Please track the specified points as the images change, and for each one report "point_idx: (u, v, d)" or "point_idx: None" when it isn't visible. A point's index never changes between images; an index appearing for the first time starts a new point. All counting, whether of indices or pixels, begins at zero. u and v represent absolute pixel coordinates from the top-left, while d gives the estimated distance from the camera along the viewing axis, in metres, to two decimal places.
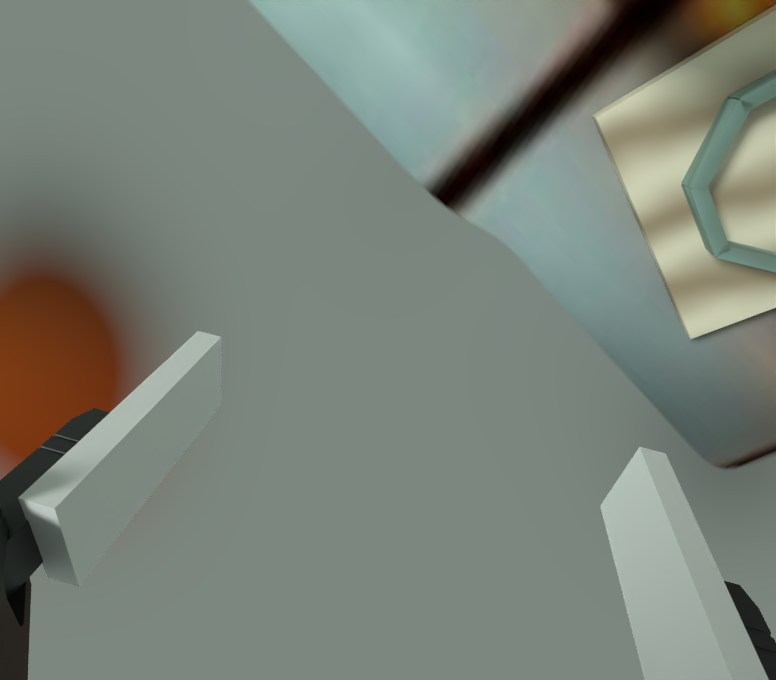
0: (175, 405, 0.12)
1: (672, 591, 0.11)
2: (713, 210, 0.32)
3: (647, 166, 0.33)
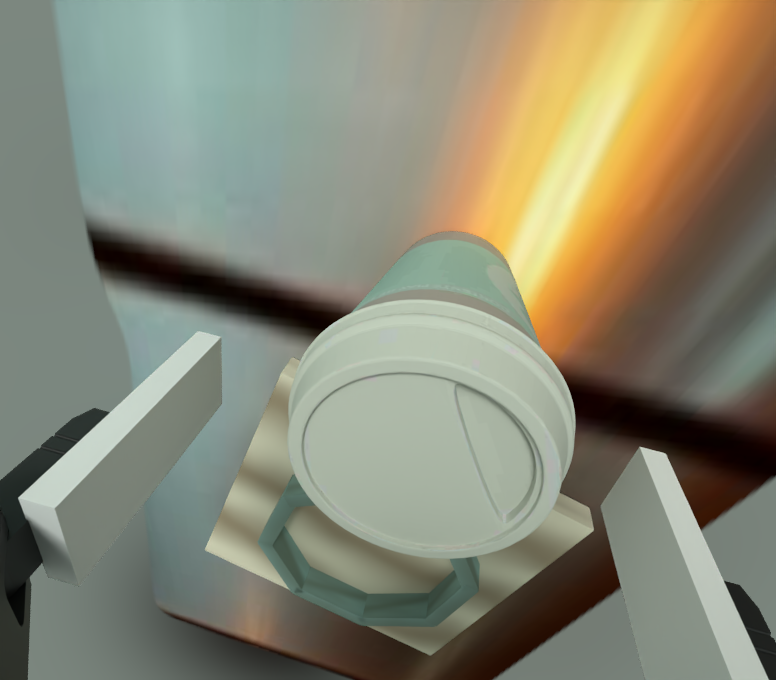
0: (175, 405, 0.12)
1: (672, 591, 0.11)
2: (283, 521, 0.29)
3: (282, 441, 0.28)
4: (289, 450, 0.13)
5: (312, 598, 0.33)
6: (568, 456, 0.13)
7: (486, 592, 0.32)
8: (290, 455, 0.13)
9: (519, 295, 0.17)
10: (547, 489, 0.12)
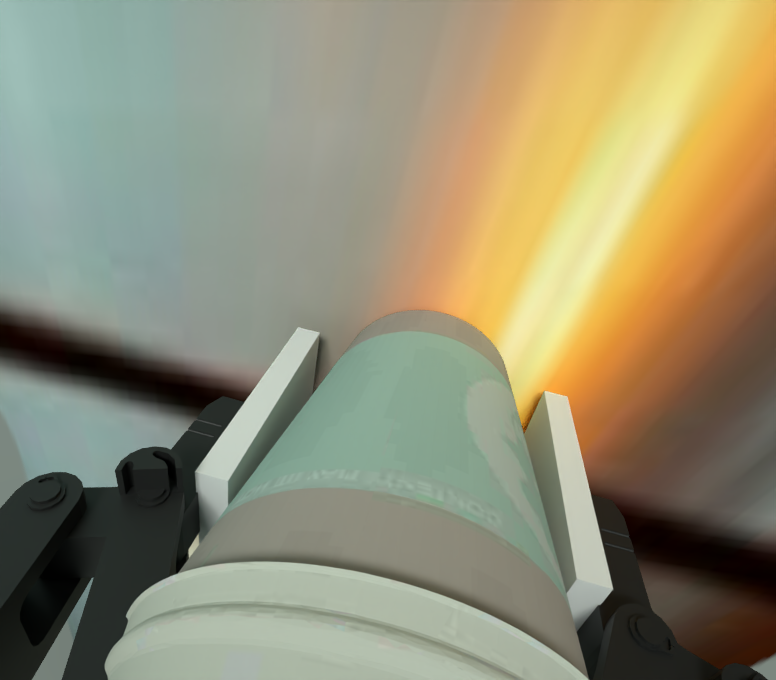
0: (291, 394, 0.14)
1: (549, 503, 0.12)
2: None
3: None
4: None
5: None
6: None
7: None
8: None
9: (517, 431, 0.11)
10: None
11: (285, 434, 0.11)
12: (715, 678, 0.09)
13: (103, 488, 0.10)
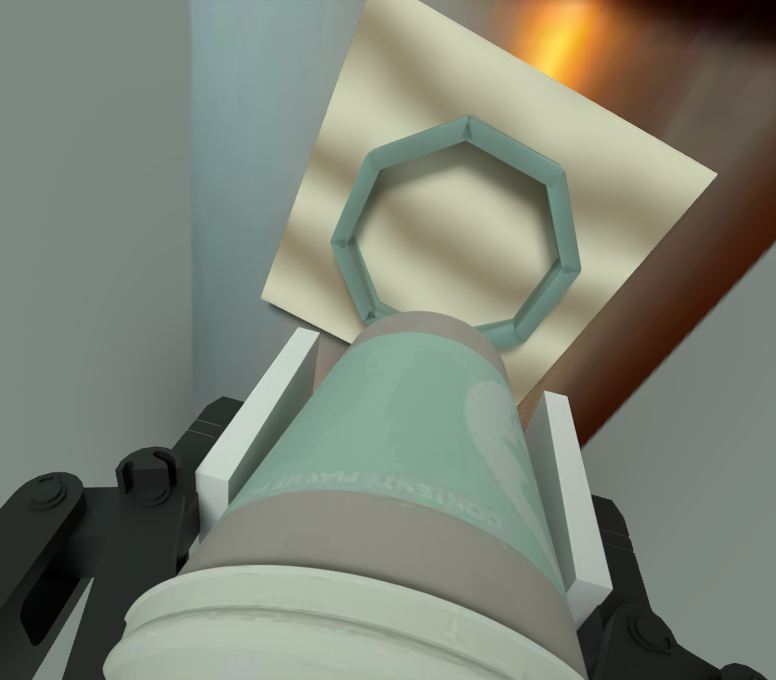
0: (291, 394, 0.14)
1: (549, 503, 0.12)
2: (364, 197, 0.26)
3: (366, 94, 0.25)
4: None
5: None
6: None
7: (579, 304, 0.29)
8: None
9: (517, 433, 0.11)
10: None
11: (284, 436, 0.11)
12: (715, 678, 0.09)
13: (103, 488, 0.10)
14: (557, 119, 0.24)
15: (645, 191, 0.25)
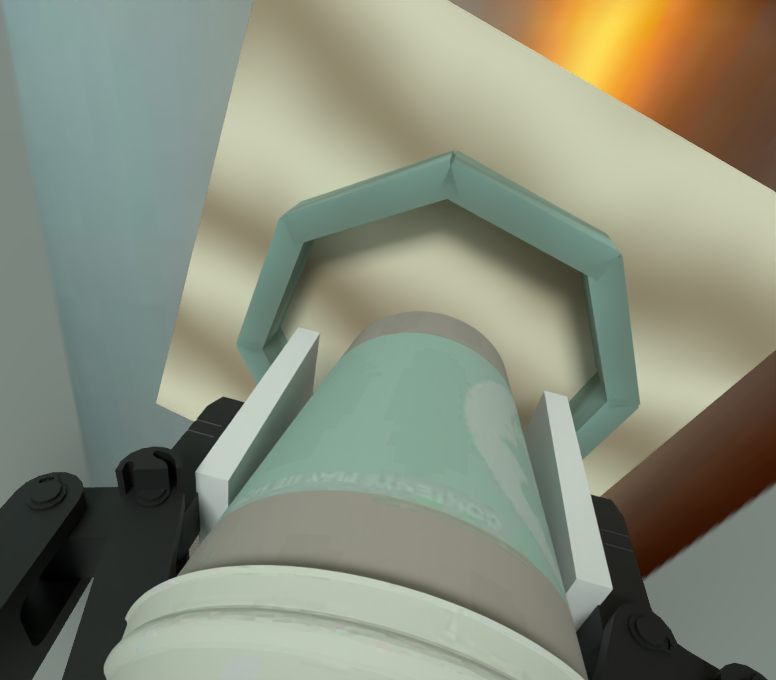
0: (291, 394, 0.14)
1: (549, 503, 0.12)
2: (282, 283, 0.16)
3: (280, 116, 0.15)
4: None
5: None
6: None
7: (626, 437, 0.19)
8: None
9: (516, 433, 0.11)
10: None
11: (285, 436, 0.11)
12: (715, 678, 0.09)
13: (103, 488, 0.10)
14: (606, 161, 0.14)
15: (752, 280, 0.15)
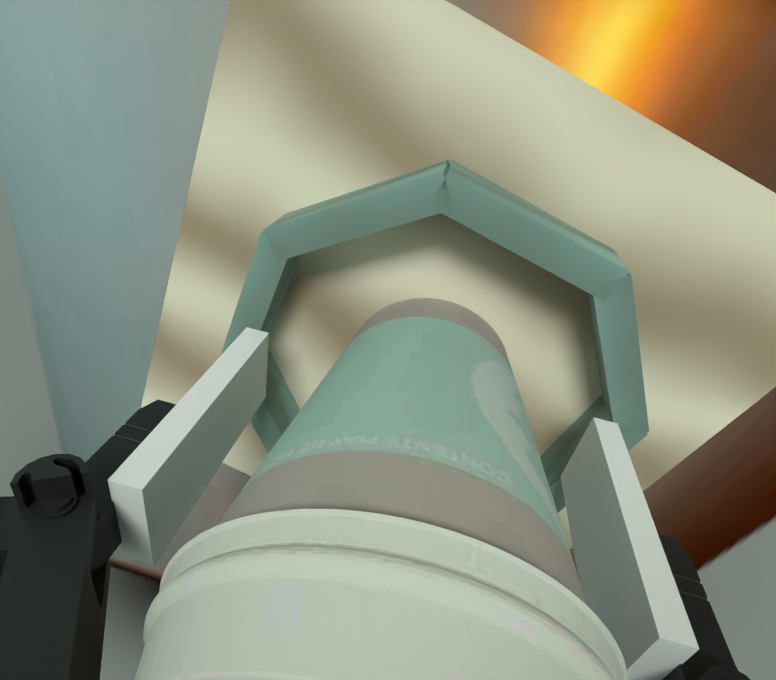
0: (231, 397, 0.13)
1: (611, 543, 0.11)
2: (265, 302, 0.15)
3: (261, 122, 0.14)
4: None
5: None
6: None
7: (633, 462, 0.18)
8: None
9: (520, 408, 0.12)
10: None
11: (303, 411, 0.11)
12: None
13: (11, 497, 0.10)
14: (613, 172, 0.13)
15: (769, 299, 0.14)
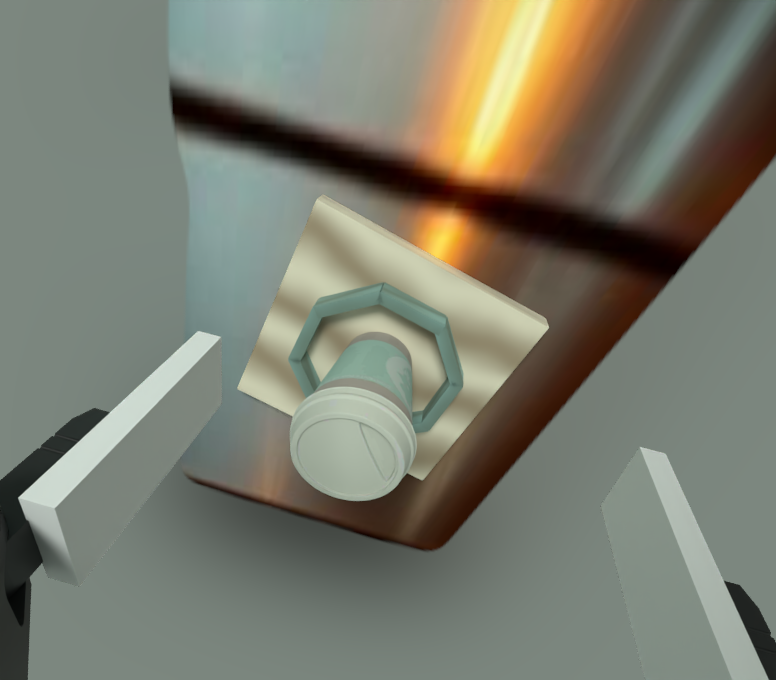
0: (175, 405, 0.12)
1: (672, 591, 0.11)
2: (311, 333, 0.37)
3: (312, 265, 0.36)
4: (291, 450, 0.30)
5: None
6: (411, 451, 0.30)
7: (468, 403, 0.41)
8: (291, 453, 0.30)
9: (404, 372, 0.35)
10: (399, 465, 0.29)
11: (330, 371, 0.34)
12: None
13: None
14: (442, 289, 0.36)
15: (504, 335, 0.37)
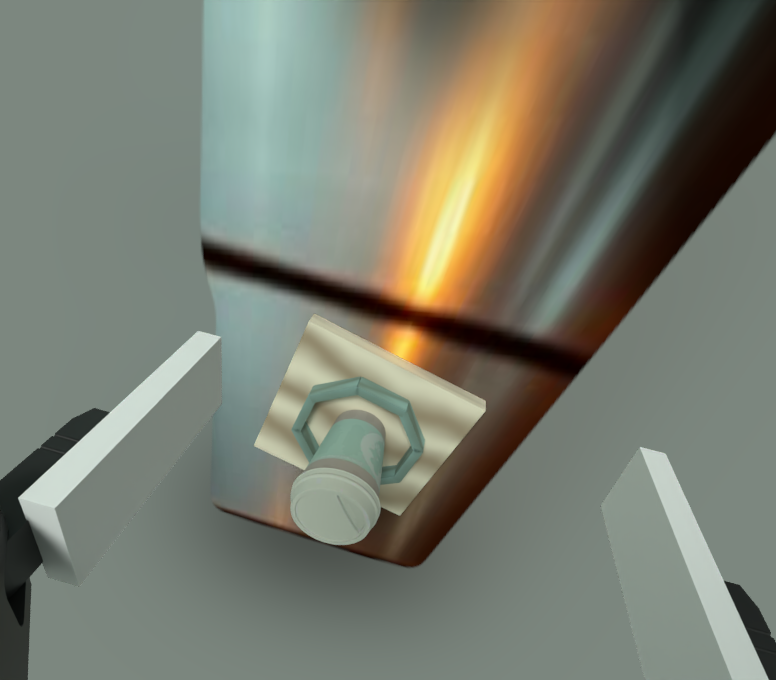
0: (175, 405, 0.12)
1: (672, 591, 0.11)
2: (308, 412, 0.50)
3: (308, 363, 0.49)
4: (291, 511, 0.42)
5: None
6: (376, 512, 0.42)
7: (430, 461, 0.52)
8: (291, 512, 0.42)
9: (376, 446, 0.47)
10: (366, 523, 0.41)
11: (320, 447, 0.46)
12: None
13: None
14: (404, 382, 0.48)
15: (453, 414, 0.49)
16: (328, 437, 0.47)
